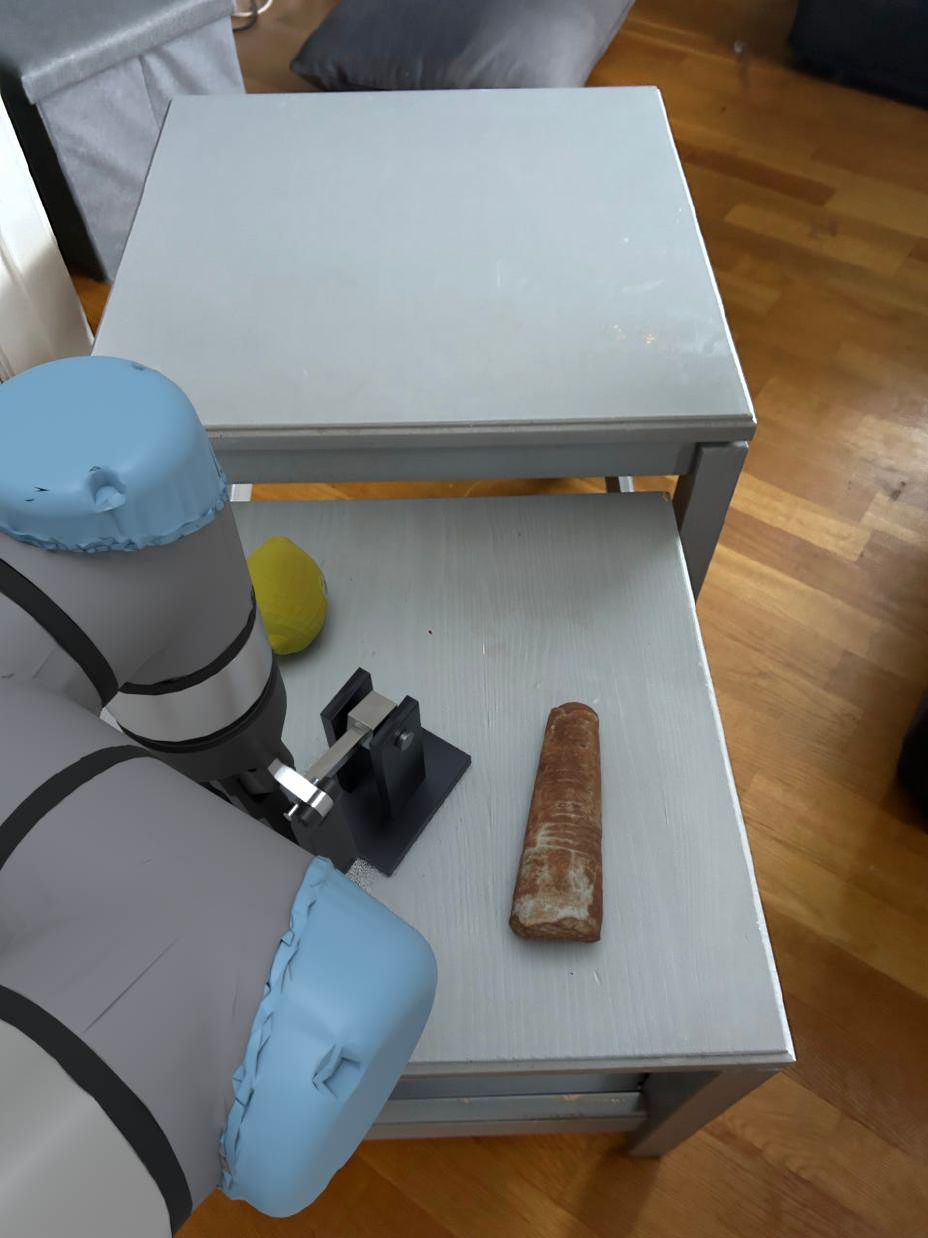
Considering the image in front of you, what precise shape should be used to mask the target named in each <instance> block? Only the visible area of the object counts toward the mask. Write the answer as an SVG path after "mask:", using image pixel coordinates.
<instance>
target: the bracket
mask: <svg viewBox="0 0 928 1238" xmlns="http://www.w3.org/2000/svg"><path fill="white" fill-rule="evenodd" d="M371 690H374V686H373V679H372V674H371V672H369V671H367V670H366V669H364V668H362V667H361V666H358V668H357V669H356V670H355V671H354V672H353V674H352V675H351V676H350V677H349V678H348V680H347V681H346V682H345V683H344V684H343V686H342V687H341V688H340V689H339V690H338V692H337V693H336V694H335V695H334V697H332V699H331V700H330V701H329V702H328V704H327V705H326V706H325V707H324V708H323V709H322V710H321V712H320V713H319V716H320V720H321V724H322V727H323V730H324V734H325V738H326V741H327V745H328V750H329V749H330V748H331V747H332V746H333V745H334V744H335V743H336V742H337V741H338V740H339V739H340V738H341V737H342V736H343V735H344V734H345V733H346V732H347V714H348V713H349V712H350V711H351V710H352V709H353V708H354V707H355V706H356V705H357V704H358V703H359V702H360V701H361V700H362V699H363V698H364V697H365V696H366V695H367V694H368V693H369V692H370V691H371ZM397 705H398V706H397V708H396V709H395V711H394V712H393V713H392V714H391V716H390V717H389V718H388V719H387V721H386V722H385V723H384V724H383V726H382V727H381V728H380V730H379V731H378V732H377V733H376V735H375V736H374V737H373V738H372V740H371V741H370V742H369V748H370V750H368V749H367V748H365V747H364V746H361V747H360V748H359V749H358V750H357V751H356V752H355V753H354V754H353V755H352V756H351V757H350V758H349V759H348V760H347V761H346V762H345V763H344V765H343V766H342V767H341V768H340V769H339V770H338V771H337V772H336V773H335V774H334V775H333V776H332V777H331V778H333V779H335V780H336V781H337V782H338V783H339V785H340V786H341V787H342V789H343V793H342V795H341V797H340V800H339V801H340V804H341V807H342V810H343V812H344V815H345V818H346V821H347V823H348V826H349V829H350V832H351V834H352V837H353V840H354V843H355V845H356V848H357V851H358V854H359V857H358V858H360V859H362V860H363V861H365V862H366V863H368V864H369V865H371V866H372V867H374V868H375V869H377V870H379V871H380V872H381V873H383V874H384V875H386V876H388V877H391V876H392V875H393V873H394V872H395V871H396V869H397V868H398V867H399V866H400V864H401V863H402V861H403V859H404V858H405V857H406V855H407V854H408V853H409V851H410V849H412V847H413V846H414V844H415V843H416V841H417V840H418V838H419V837H420V836H421V834H422V833H423V831H424V830H425V828H426V827H427V826H428V824H429V823H430V821H431V820H432V819H433V818H434V816H435V815H436V813H437V812H438V811H439V809H440V808H441V806H442V805H443V803H444V802H445V800H446V799H447V798H448V796H449V795H450V794H451V792H452V791H453V789H454V788H455V786H456V785H457V784H458V783H459V781H460V779H461V778H462V777H463V775H465V772H466V771H467V770H468V768H469V767H470V766H471V764H472V755H471V754H469V753H467V752H465V751H463V750H461V749H460V748H458V747H457V746H455V745H453V744H451V743H450V742H448V741H447V740H445V739H443V738H442V737H439V736H438V735H436V734H435V733H433V732H431V731H430V730H428V729H426V728H425V727H423V726H422V720H421V711H420V710H421V709H420V702H419V700H417V699H416V698H414V697H413V696H411V695H409V694H406V695H405V696H404V698H403V699H402V700H401V701H400V703H399V704H397Z"/></svg>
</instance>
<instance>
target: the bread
mask: <svg viewBox="0 0 928 1238" xmlns="http://www.w3.org/2000/svg"><path fill="white" fill-rule="evenodd" d="M600 741H601V740H600V717H599V714H598V713H597V712H596V711H595V710H594V709H593V708H592V707H591V706H590V705H588V704H586V703H582V702H579V701H568V702H566V703H563V704H560V705H559V706H556V707H552V708H551V709H550V711H549V713H548V717H547V720H546V726H545V731H544V736H543V742H542V746H541V751H540V756H539V762H538V767H537V770H536V775H535V781H534V785H533V791H532V796H531V800H530V805H529V806H530V807H529V812H528V816H527V822H526V828H525V833H524V838H523V846H522V851H521V854H520V858H519V862H518V868H517V873H516V878H515V885H514V890H513V894H512V902H511V908H510V915H509V917H508V926H509V927H510V929H511V931H512V933H514V934H515V935H516V936H518V937H521V938H522V939H525V940H531V939H534V940H535V941H536V940H545V939H547V940H549V941H552V940H558V941H569V942H574V943H575V942H581V943H585V944H594V943H596V942H600V941H601V938H602V936H601V935H602V934H601V933H602V924H603V920H604V919H603V917H604V905H603V904H604V897H603V893H604V890H603V879H604V878H603V864H604V863H603V852H602V839H603V820H602V819H603V817H602V816H603V811H602V810H603V799H602V797H603V796H602V767H601V743H600Z"/></svg>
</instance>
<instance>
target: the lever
mask: <svg viewBox="0 0 928 1238" xmlns="http://www.w3.org/2000/svg"><path fill="white" fill-rule="evenodd" d="M398 705H399V704H398V703H396V702H395V701H392V700H391V699H389V698H387V697H386V696H384V695H382V694H381V693H379V692H377V691H375V689H373V690H371V691H370V692H369V693H368V694H367V695H366V696H365V697H364V698H363V699H362V700H361V701H360V702H359V703H358V704H357V705H356V706H355V707H354V708H353V709H352V710H351V711H350V712H349V713H348V714H347V732H346V733H345V734H344V735H343V736H342V737H341V738H340V739H339V740H338V741H337V742H336V743H335V744H334V745H333V746H332V747H331V748H330V749H329V748H328V749H327V751H326V752H325V753H324V754H323V755H322V756H321V757H320V758H319V759H318V760H317V761H316V762H315V763H314V764H313V765H312V766H311V767H310V768H309V769H308V770H307V771H306V772H305V773H304V774H303V775H301V776H302V777H304V778H305V779H306V780H308V781H309V782H310V780H311V779H312V778H313V777H317V778H319V779H320V780H321V779H322V778H323V777H324V776H327V777H332V776H333V775H334V774H335V773H336V772H337V771H338V770H339V769H340V768H341V767H342V766H343V765H344V763H345V762H346V761H347V760H348V759H349V758H350V757H351V756H352V755H353V754H354V753H355V752H356V751H357V750H358V749H359V748H360V747H361V746H364V747H365V748H367V749H368V750H370V748H369V742H370V741H371V740H372V738H373V737H374V736H375V735H376V733H377V732H378V731H379V730H380V728H381V727H382V726H383V724H384V723H385V722H386V721H387V719H388V718H389V717H390V716H391V714H392V713H393V712H394V711H395V709H396V708H397V707H398ZM225 801H227V802H228V803H230V804H231V805H233V803H232V802H231V801H230V800H229V798H228V799H226V800H225ZM233 806H234V805H233ZM257 821H258V820H257Z"/></svg>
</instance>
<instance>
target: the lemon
mask: <svg viewBox="0 0 928 1238" xmlns="http://www.w3.org/2000/svg"><path fill="white" fill-rule="evenodd" d="M246 562H247V566H248V569H249V573H250V577H251V580H252V584H253V586H254V591H255V596H256V600H257V603H258V606H259V609H260V612H261V615H262V619H263V622H264V625H265V628H266V631H267V634H268V637H269V640H270V643H271V646H272V648H273V650H274V652H275V655H281V656H285V655H286V656H287V655H290V654H295V653H299V652H301V651H303V650H305V648H307V647H308V646H309V645H310V644H311V643H312V642H313V641H314V639H316V637H317V636H318V634H319V633H320V631H321V630H322V628H323V626H324V625H325V621H326V617H327V613H328V605H329V596H328V595H329V594H328V593H329V592H328V586H327V582H326V578H325V576H324V573H323V572H322V570H321V568H320V567H319V565H318V563H316V561H315V560H314V559H313V558H312V557H311V555H309V554H308V553H307V552H306V551H305V550H304V549H303V548H301V547H299V546H298V545H297V544H296V543H294V542H293V541H292V540H291V539H290V538H288V537H287V536H285V535H273V536H271V537H269V538H267V540H266V541H264V542H263V543H262V544H261V545H259V546H258V547H257V548H256V549H255V550H253V552H252V553H250V555H249V556H248V558H247V559H246Z"/></svg>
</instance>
